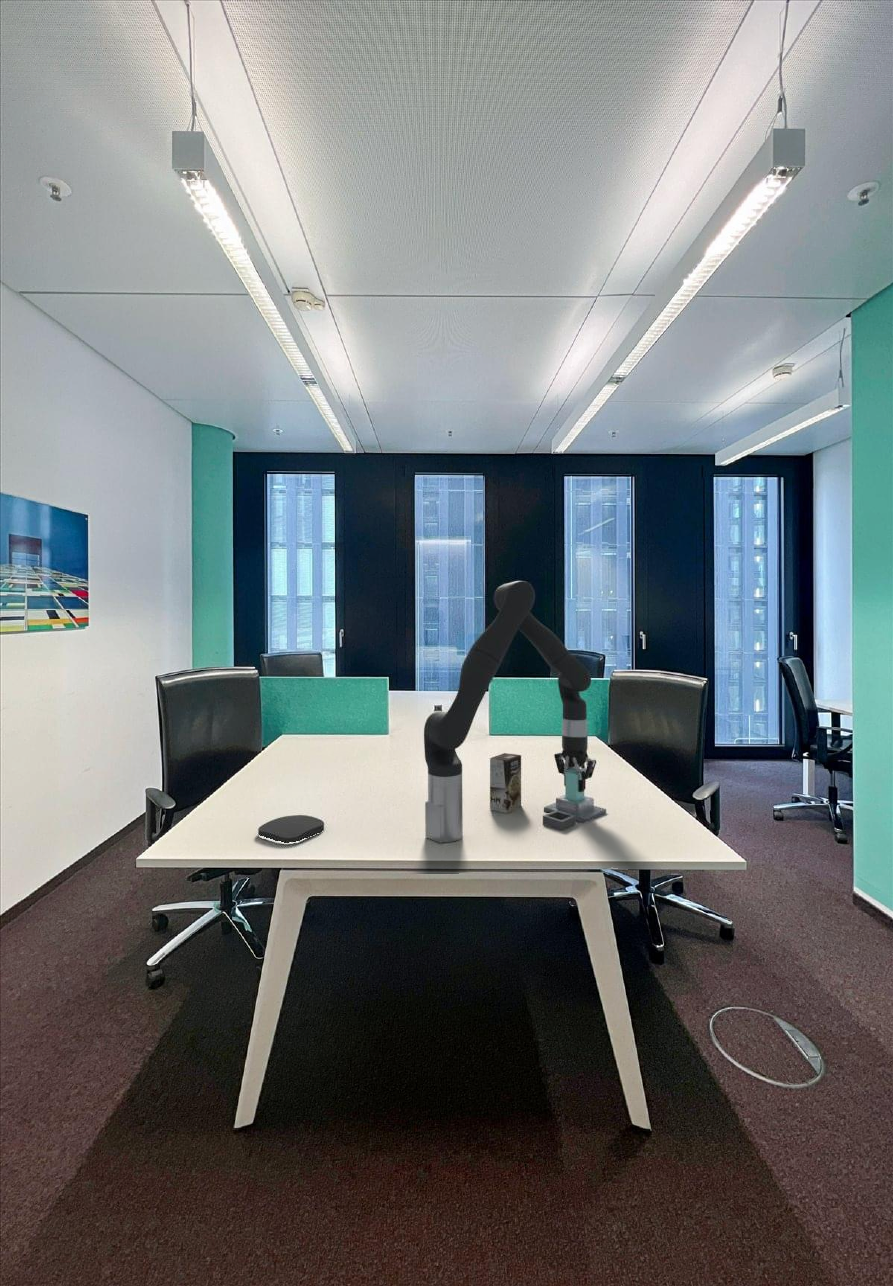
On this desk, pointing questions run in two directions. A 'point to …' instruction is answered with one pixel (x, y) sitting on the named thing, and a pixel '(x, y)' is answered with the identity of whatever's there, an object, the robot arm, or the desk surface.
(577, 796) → the plug
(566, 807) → the grey stepped base
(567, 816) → the dark grey square tray
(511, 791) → the coffee box
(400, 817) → the desk surface
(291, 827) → the media streaming box
